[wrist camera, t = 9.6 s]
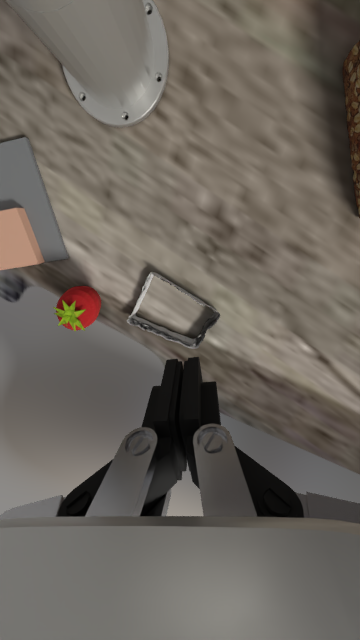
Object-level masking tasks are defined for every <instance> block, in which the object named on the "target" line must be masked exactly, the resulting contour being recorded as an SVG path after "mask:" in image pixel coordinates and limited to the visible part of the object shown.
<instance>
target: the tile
mask: <svg viewBox="0 0 360 640" xmlns="http://www.w3.org/2000/svg"><path fill="white" fill-rule="evenodd" d="M44 262H45V261H44V259H43V256H42V253H41V251H40V248H39V246H38V243H37V240H36V238H35V235H34V232H33V230H32V227H31V225H30V222H29V219H28V217H27V214H26V212H25V209H24V208H13V209H8V210H3V211H0V270H4V269H11V268H17V267H23V266H30V265H36V264H41V263H44Z"/></svg>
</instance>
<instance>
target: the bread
mask: <svg viewBox="0 0 360 640" xmlns="http://www.w3.org/2000/svg"><path fill="white" fill-rule="evenodd" d="M343 82H344V88H345V106H346V110H347V112H348V114H347V129H348V132H349V136H348V137H349V139H350V149H351V152H350V155H351V159H352V164H351V166H352V169H353V170H354V175H353V182H354V191H355V197H356V204H357V207H358V209H359V218H360V40H359V42H358V43H357V44H356V45H355V46H354V47H353V49H352V50H351V51H350V52H349V55H348V57H347V58H346V60H345V61H344V65H343Z"/></svg>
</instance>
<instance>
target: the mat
mask: <svg viewBox="0 0 360 640" xmlns="http://www.w3.org/2000/svg"><path fill="white" fill-rule="evenodd" d="M13 208H24V209H25V212H26V214H27V217H28V219H29V222H30V225H31V227H32V230H33V232H34V235H35V238H36V240H37V243H38V246H39V248H40V251H41V253H42V256H43V259H44V261H45V262H50V261H56V260H62V259H68V258H69V256H68V254H67V251H66V248H65V245H64V242H63V239H62V236H61V233H60V230H59V227H58V224H57V221H56V218H55V215H54V212H53V209H52V206H51V204H50V201H49V198H48V195H47V192H46V189H45V186H44V183H43V180H42V177H41V174H40V171H39V168H38V165H37V162H36V159H35V157H34V154H33V151H32V148H31V145H30V142H29V139H28V138H26V137H24V138H20V139H15V140H11V141H7V142H3V143H0V211H3V210H8V209H13Z"/></svg>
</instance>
